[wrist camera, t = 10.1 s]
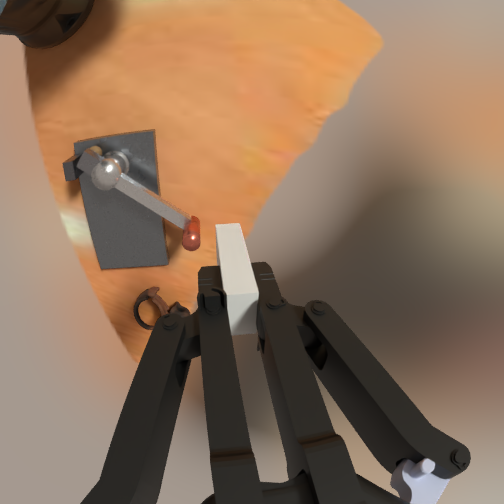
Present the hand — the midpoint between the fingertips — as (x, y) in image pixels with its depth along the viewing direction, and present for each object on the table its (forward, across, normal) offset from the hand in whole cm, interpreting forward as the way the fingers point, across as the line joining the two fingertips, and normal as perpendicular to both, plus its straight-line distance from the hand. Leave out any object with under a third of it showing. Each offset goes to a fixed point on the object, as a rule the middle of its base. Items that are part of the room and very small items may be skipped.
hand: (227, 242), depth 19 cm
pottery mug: (+32, -12, -33) cm, 48 cm away
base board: (+32, -16, -10) cm, 37 cm away
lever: (+29, -11, -6) cm, 32 cm away
